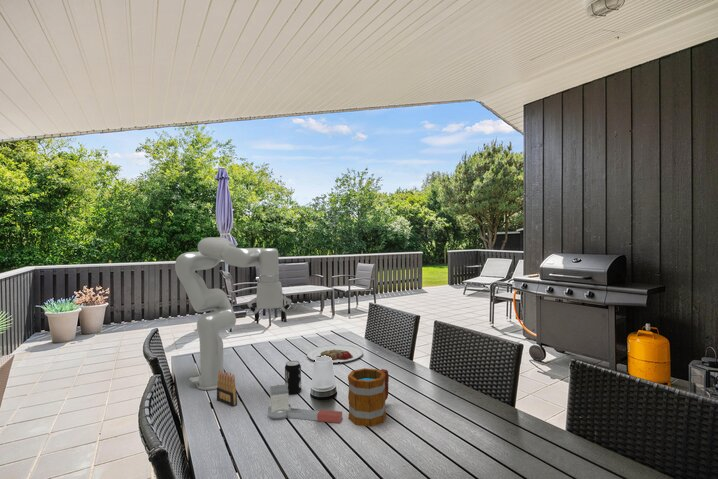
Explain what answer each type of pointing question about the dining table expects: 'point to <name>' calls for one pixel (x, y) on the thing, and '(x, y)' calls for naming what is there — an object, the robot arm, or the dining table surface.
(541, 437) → the dining table surface
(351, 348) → the plated food
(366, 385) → the mug
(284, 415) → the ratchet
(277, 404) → the brushed metal block
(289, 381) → the beverage can
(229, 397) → the ammunition clip
